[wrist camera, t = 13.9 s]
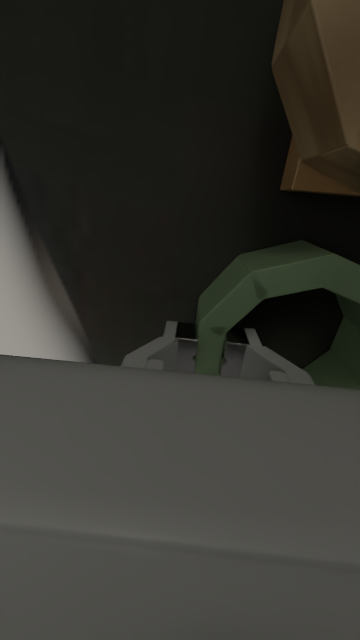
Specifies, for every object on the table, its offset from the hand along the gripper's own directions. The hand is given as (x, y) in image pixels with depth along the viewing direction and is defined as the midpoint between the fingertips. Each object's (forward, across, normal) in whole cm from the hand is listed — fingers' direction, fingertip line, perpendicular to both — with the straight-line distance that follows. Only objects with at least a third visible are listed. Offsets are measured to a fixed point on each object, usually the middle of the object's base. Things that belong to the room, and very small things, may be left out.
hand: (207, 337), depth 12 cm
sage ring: (+2, -4, 0) cm, 4 cm away
